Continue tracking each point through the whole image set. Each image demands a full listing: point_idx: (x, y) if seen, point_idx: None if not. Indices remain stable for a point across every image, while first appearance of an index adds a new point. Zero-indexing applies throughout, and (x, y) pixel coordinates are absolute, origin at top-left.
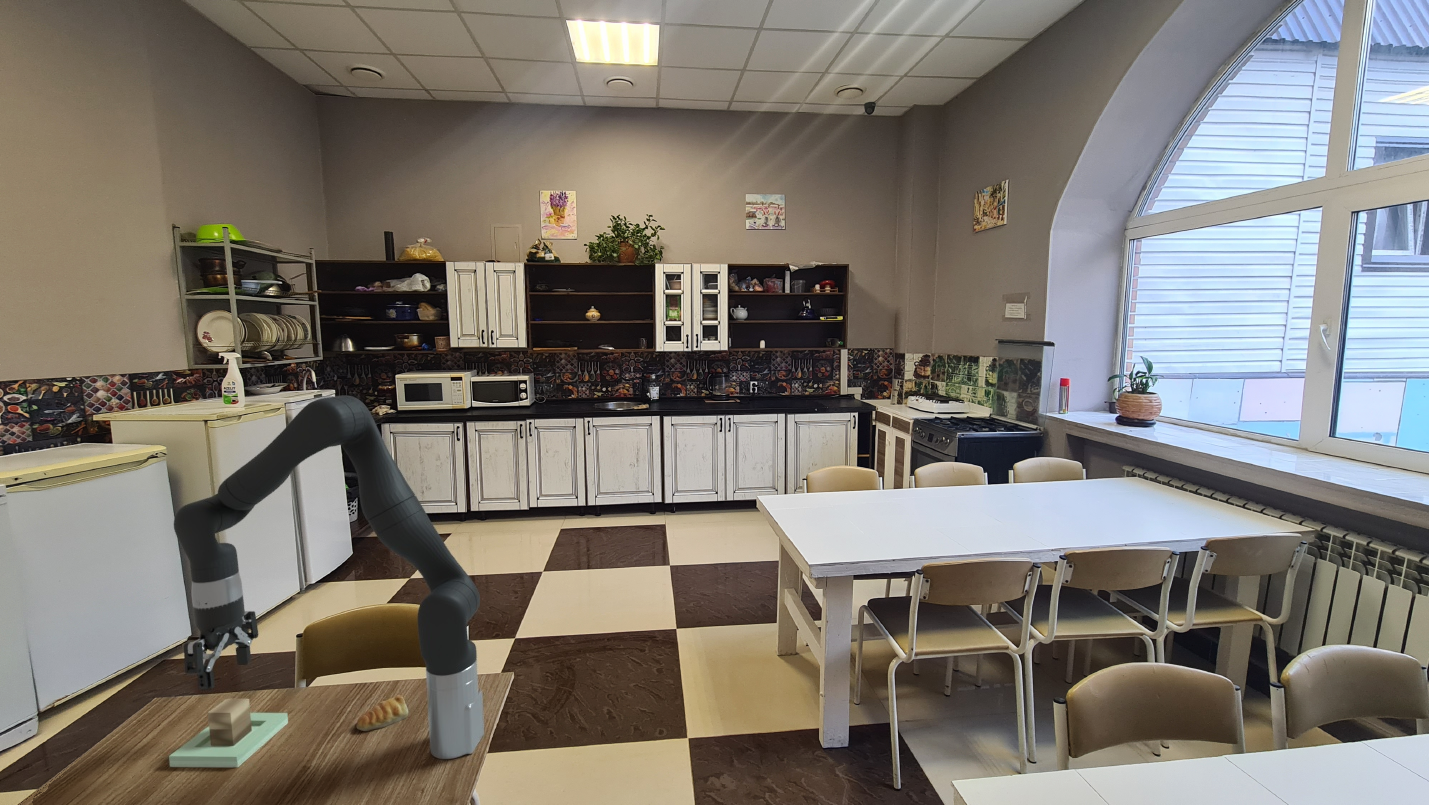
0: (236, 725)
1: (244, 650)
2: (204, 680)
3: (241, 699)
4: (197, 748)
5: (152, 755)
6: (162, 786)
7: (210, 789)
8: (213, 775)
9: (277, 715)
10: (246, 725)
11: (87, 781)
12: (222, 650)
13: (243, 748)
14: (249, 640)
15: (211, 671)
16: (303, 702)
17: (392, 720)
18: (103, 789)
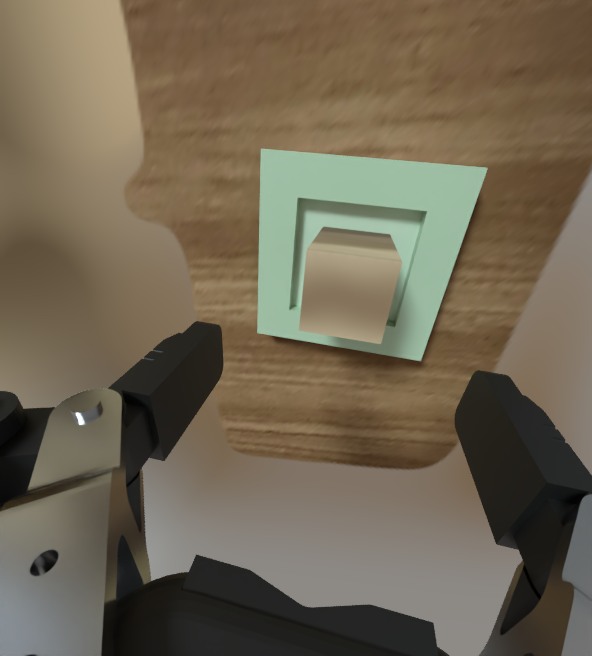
0: (375, 243)
1: (165, 394)
2: (572, 455)
3: (309, 276)
4: (403, 315)
5: (364, 397)
6: (492, 321)
7: (566, 185)
8: (490, 221)
9: (272, 177)
10: (338, 233)
11: (422, 451)
12: (424, 624)
13: (442, 175)
14: (65, 425)
15: (565, 478)
16: (178, 170)
17: None
18: None
